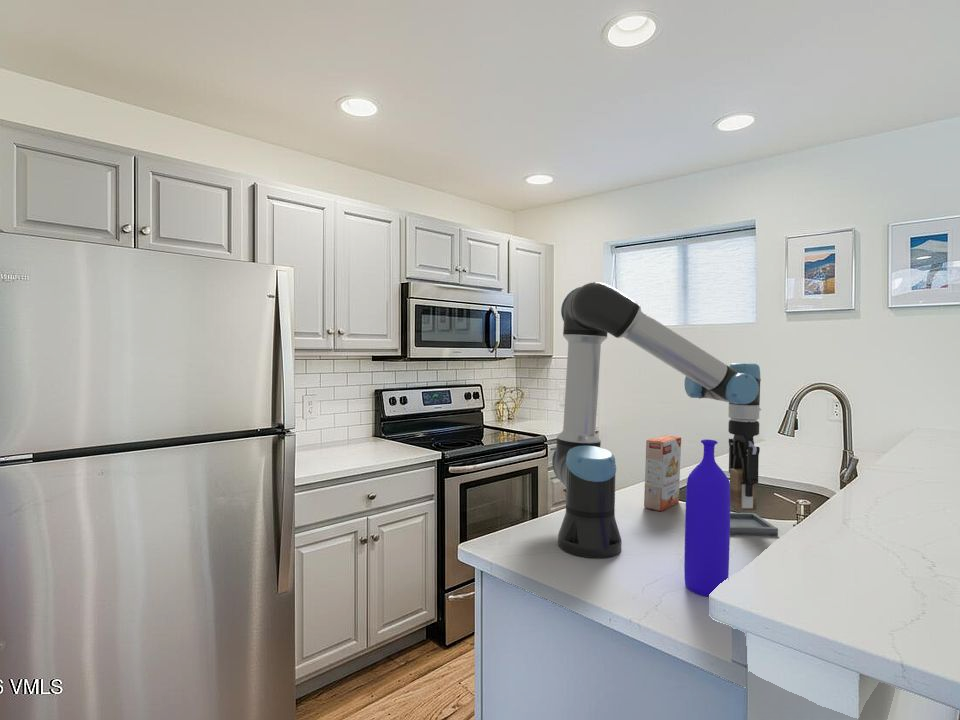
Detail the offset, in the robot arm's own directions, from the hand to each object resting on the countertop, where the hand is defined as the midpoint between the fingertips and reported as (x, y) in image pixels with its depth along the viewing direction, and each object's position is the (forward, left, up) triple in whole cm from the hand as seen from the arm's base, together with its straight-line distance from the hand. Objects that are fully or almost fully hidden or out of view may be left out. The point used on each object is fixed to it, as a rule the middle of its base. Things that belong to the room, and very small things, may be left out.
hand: (742, 504), depth 144 cm
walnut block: (0, 0, -1) cm, 1 cm away
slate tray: (0, 0, -6) cm, 6 cm away
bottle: (-24, -39, -6) cm, 46 cm away
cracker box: (-16, +18, -6) cm, 25 cm away
